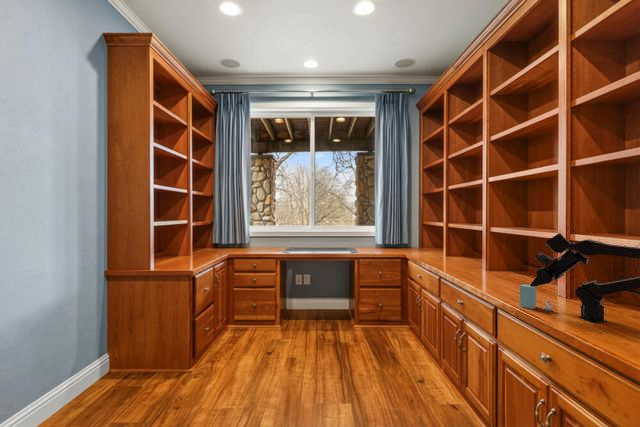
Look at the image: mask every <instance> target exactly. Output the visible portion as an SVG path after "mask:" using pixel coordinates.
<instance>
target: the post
mask: <svg viewBox="0 0 640 427" xmlns="http://www.w3.org/2000/svg"><path fill="white" fill-rule="evenodd" d="M543 311H545V312H546V313H547V312H549V313H552V312H553V303H552V302H551V301H549V300H546V301H545V302H544V308H543Z"/></svg>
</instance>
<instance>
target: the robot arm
mask: <svg viewBox="0 0 640 427" xmlns="http://www.w3.org/2000/svg"><path fill="white" fill-rule="evenodd" d="M544 243H545V245H546V246H548V248H550V249H551V250H552V251H553V252H554V253H555V254H560V256H558V257H555V258H554V257H552V256H550V255H547V254H545V253H543V252H538V253H537V255H535V258H534V260H535V261H536V262H539V263H541V264H543V265H544V267H543V266H542V267H539V268H538V269H536V271H535V273H536V277H534V279H533V280H532V282H531V283H530V284H529V285H530V286H531V287H534V286H537V287H539V286H543V285H548V284H550V283H552V282H554V281H557V280H558V279H560V278H562V277H563V276H565V273H567V272H568V271H570V270H571V269H572V268H574V267H575V266H576V265H579V264H580V263H583V265H589V256H601V255H602V256H607V255H608V256H616V257H624V258H631V259H639V260H640V247H636V246H635V247H634V246H625V245H616V244H609V243H605V242H602V241H597V240H593V239H588V238H587V239H583V240H581V241H579V242H575V241H573V242H570V241H568V239H567V238H566V237H564V235H563V234H562V233H557V234H556V235H554V236H553V237H550V238H549V239H548V240H546V241H545V242H544ZM561 254H562V255H561ZM634 290H640V276H637V277H631V278H625V279H621V280H616V281H615V280H614V281H611V282H610V281H609V282H604V283H601V282H600V283H599V282H598V280H597V279H595V280H592V281H591V280H590V281H584V282H582V283H581V284H580V285H579V286H578V287H576V289H575V292H574V294H575V295H576V297H577V298H578V299H579V300H580V302H581V305H580V316H577V318H579V319H581V320H584V321H586V322H589V323H593V324H599V323H608V320H606V319H605V306H604V305H602V304H603V303H604V302H605V298H604V297H603V296H606V295H609V294H616V293H621V292H627V291H634Z"/></svg>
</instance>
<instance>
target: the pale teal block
mask: <svg viewBox="0 0 640 427" xmlns="http://www.w3.org/2000/svg"><path fill="white" fill-rule="evenodd" d="M537 288H538V286H534V287H531V286H530V284H525V283H523V284H520V285H519V307H520V308H526V309H530V310H534V309H536V308H537V303H538V302H537V300H538V296H537V290H538V289H537Z"/></svg>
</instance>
